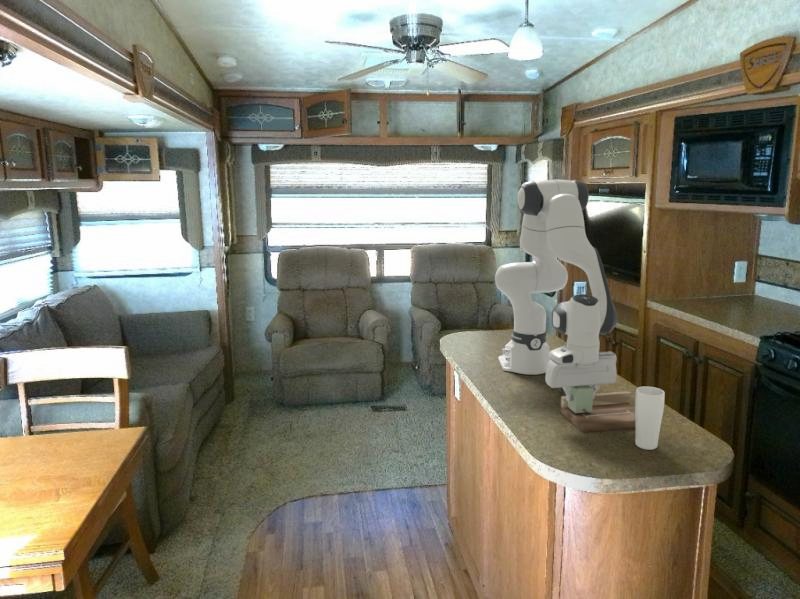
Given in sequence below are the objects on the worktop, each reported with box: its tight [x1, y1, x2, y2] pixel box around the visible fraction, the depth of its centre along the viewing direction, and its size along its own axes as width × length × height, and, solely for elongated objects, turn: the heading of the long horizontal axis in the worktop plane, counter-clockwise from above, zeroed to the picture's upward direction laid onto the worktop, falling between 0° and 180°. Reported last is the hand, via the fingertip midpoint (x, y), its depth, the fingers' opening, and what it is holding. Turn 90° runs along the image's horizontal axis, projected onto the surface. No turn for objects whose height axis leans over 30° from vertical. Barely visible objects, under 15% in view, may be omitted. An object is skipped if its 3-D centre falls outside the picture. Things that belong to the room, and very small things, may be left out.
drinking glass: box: [634, 385, 666, 451], centre depth 149 cm, size 7×7×15 cm
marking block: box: [568, 385, 593, 413], centre depth 166 cm, size 6×5×7 cm
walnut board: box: [559, 390, 635, 433], centre depth 167 cm, size 14×21×5 cm, turn 100°
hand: (580, 399), depth 167 cm, fingers closed on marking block, 5 cm apart
